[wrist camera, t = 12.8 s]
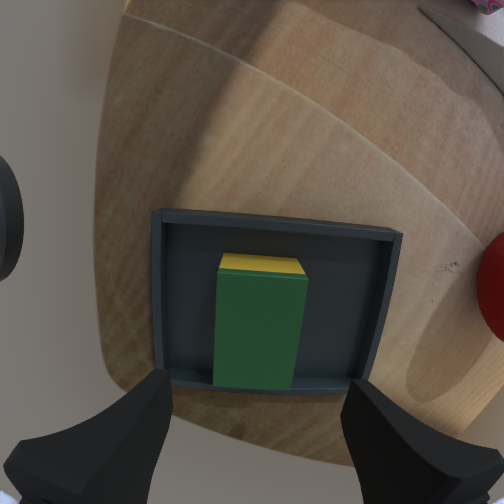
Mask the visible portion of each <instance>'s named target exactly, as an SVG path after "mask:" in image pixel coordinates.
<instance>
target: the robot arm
mask: <svg viewBox="0 0 504 504" xmlns="http://www.w3.org/2000/svg"><path fill="white" fill-rule="evenodd" d="M172 410H173V403H172V390H171V376H170V370H163V369H156V368H155V369H154V370H152V371H151V372H150V373H149V374H148V375H147V376H146V377H145V378H144V379H143V380H142V381H141V382H139V383H138V384H137V385H136V386H135V387H134V388H133V389H131V390H130V391H129V392H128V393H127V394H126V395H124V396H123V397H122V398H121V399H119V400H118V401H116V402H115V403H114V404H112V405H111V406H110V407H109V408H107V409H105V410H104V411H102V412H101V413H99V414H97V415H96V416H94V417H92V418H91V419H88V420H86V421H84V422H82V423H80V424H77V425H75V426H73V427H71V428H68V429H66V430H63V431H60V432H57V433H54V434H50V435H47V436H43V437H38V438H33V439H28V440H22V441H20V442H19V443H18V444H17V446H16V447H15V448H14V450H13V451H12V453H11V454H10V456H9V457H8V458H7V460H6V462H5V463H4V465H3V467H4V471H5V474H6V475H7V477H8V478H9V480H10V481H11V482H12V484H13V485H14V486H15V488H16V489H17V490H18V492H19V493H20V494H21V495H22V499H21V501H20V503H19V502H18V501H17V500H16V499H14V498H13V497H11V496H10V495H8V494H7V493H5V492H3V491H1V490H0V504H147V499H148V493H149V489H150V484H151V479H152V475H153V472H154V468H155V466H156V463H157V460H158V457H159V455H160V452H161V449H162V446H163V443H164V440H165V438H166V435H167V432H168V429H169V424H170V420H171V415H172ZM340 418H341V423H342V429H343V434H344V437H345V440H346V443H347V446H348V449H349V452H350V455H351V458H352V460H353V463H354V466H355V469H356V472H357V475H358V478H359V482H360V485H361V491H362V496H363V501H364V504H487V501H488V500H489V499H490V496H489V495H488V493H487V492H488V491H489V490H490V489H491V487H492V486H493V485H494V484H495V483H496V482H497V480H498V479H499V478H500V477H501V475H502V474H503V473H504V458H503V457H502V455H501V454H500V453H499V451H498V450H497V449H492V448H486V447H481V446H477V445H473V444H469V443H466V442H463V441H460V440H457V439H455V438H452V437H450V436H447V435H445V434H443V433H441V432H439V431H436V430H435V429H433V428H431V427H429V426H427V425H426V424H424V423H422V422H420V421H419V420H417V419H416V418H414V417H413V416H411V415H410V414H409V413H407V412H406V411H404V410H403V409H402V408H400V407H399V406H398V405H397V404H395V403H394V402H393V401H392V400H390V399H389V398H388V397H387V396H385V395H384V394H383V393H382V392H381V391H380V390H378V389H377V388H376V387H375V386H374V385H372V384H371V383H370V382H369V381H367V380H366V379H352V380H351V383H350V386H349V390H348V393H347V396H346V399H345V402H344V405H343V408H342V411H341V414H340ZM493 504H504V497H503V498H501V499H499V500H498V501H496V502H494V503H493Z"/></svg>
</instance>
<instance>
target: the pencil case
mask: <svg viewBox="0 0 504 504" xmlns="http://www.w3.org/2000/svg"><path fill="white" fill-rule="evenodd" d="M471 1H473V2H474V3H475V5H476V6H477V8H478V9H479V11H481V12H482V13H483V14H485V15H489V14H492V13H493V12H495V11H497V10H498V9H500V8H502V7H504V0H471Z"/></svg>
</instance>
